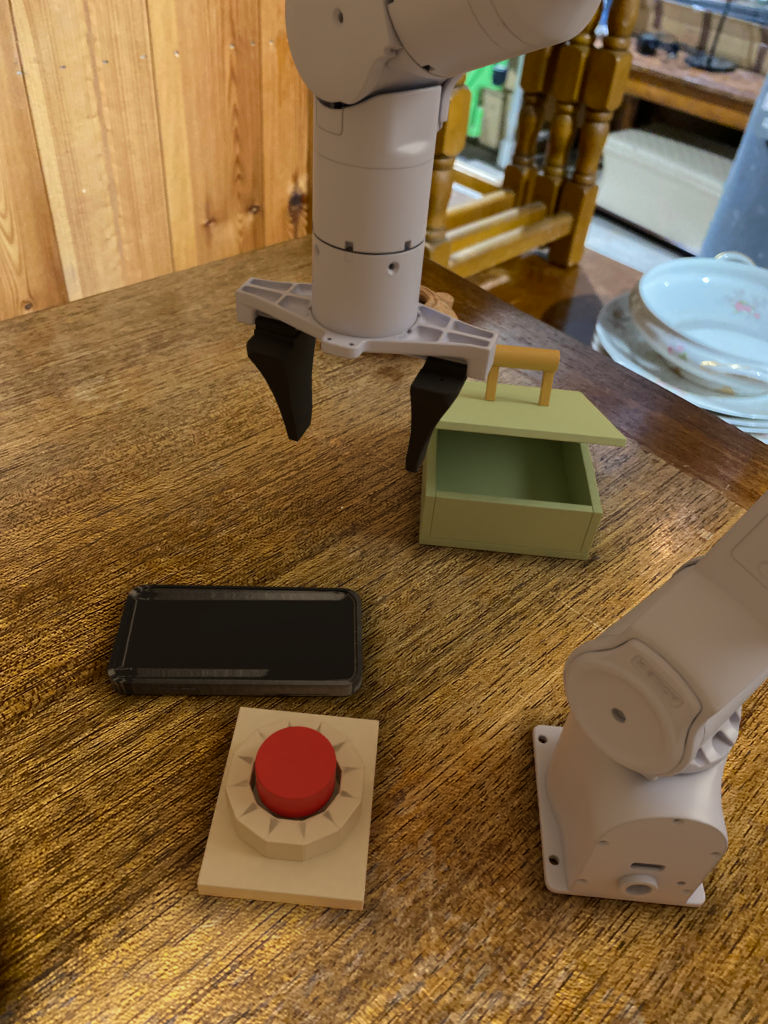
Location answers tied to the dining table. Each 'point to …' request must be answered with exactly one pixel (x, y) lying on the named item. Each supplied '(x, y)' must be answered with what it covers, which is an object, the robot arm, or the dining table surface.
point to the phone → (238, 641)
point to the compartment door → (529, 404)
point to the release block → (293, 821)
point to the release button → (295, 771)
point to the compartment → (509, 495)
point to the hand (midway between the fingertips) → (356, 447)
